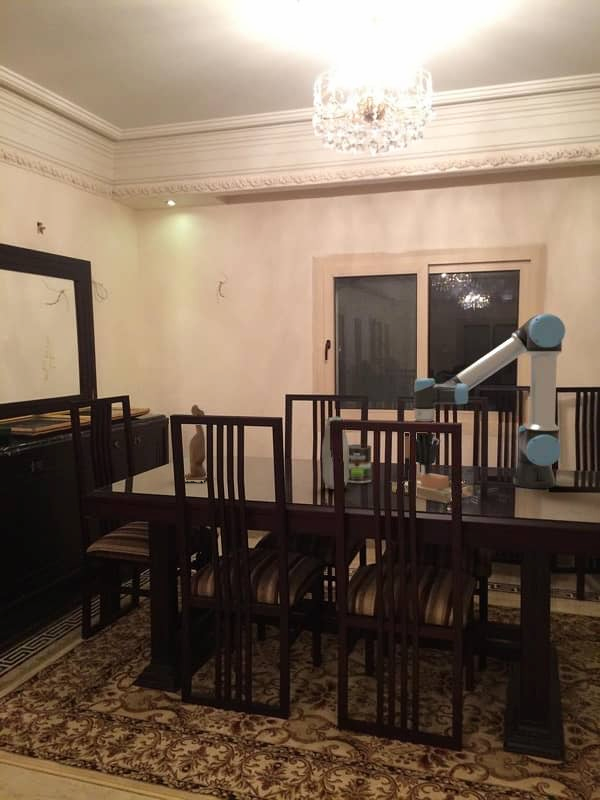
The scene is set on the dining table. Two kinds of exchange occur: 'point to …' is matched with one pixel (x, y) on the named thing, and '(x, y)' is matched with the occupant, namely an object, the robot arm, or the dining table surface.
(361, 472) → the coffee can
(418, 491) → the trap lane
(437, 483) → the block
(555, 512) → the dining table surface
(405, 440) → the travel mug
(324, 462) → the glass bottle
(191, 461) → the bird sculpture
